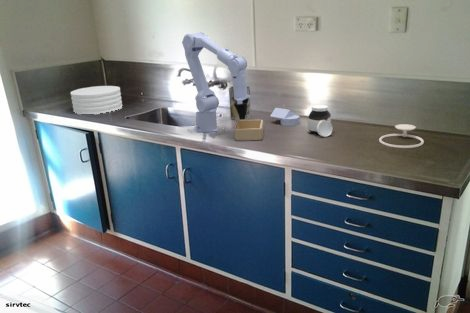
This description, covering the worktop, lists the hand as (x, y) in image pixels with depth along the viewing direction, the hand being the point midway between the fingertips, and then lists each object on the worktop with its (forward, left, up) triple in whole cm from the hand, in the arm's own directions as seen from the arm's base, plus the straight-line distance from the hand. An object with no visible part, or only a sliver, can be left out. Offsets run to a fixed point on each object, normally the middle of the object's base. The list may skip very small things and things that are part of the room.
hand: (243, 117), depth 191 cm
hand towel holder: (+65, -10, -9) cm, 66 cm away
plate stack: (-92, +60, -9) cm, 110 cm away
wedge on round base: (+19, +20, -9) cm, 29 cm away
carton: (+2, 0, -8) cm, 9 cm away
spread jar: (+34, +1, -9) cm, 35 cm away
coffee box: (-4, +30, -9) cm, 32 cm away
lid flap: (-2, 0, 0) cm, 2 cm away
